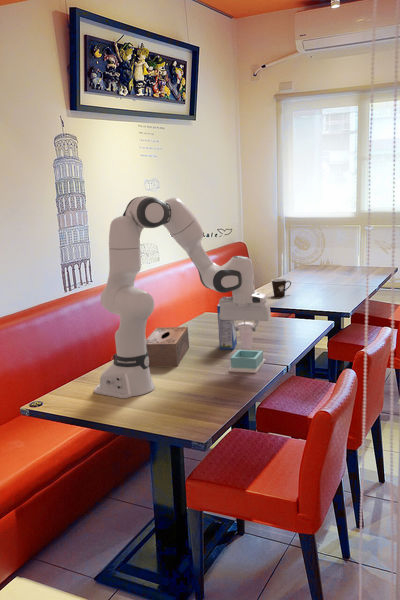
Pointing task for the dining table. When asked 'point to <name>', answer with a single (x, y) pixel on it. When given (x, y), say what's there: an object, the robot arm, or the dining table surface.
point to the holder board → (247, 361)
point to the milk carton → (226, 333)
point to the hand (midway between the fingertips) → (245, 330)
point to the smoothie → (246, 334)
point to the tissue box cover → (167, 346)
